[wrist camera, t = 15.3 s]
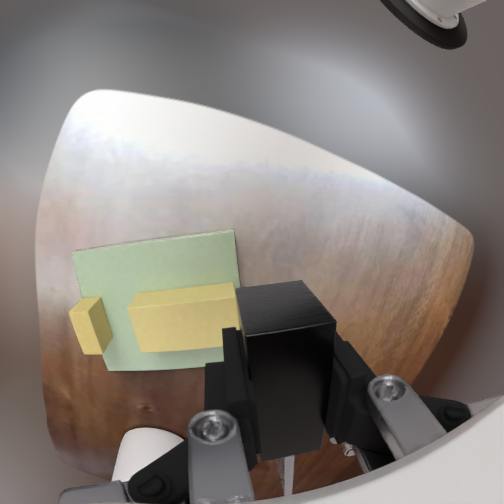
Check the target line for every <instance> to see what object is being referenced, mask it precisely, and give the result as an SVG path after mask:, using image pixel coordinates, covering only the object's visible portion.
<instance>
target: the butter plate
mask: <svg viewBox="0 0 504 504" xmlns="http://www.w3.org/2000/svg"><path fill="white" fill-rule="evenodd" d="M72 259H73V263H74V267H75V271H76V276H77V279H78V283H79V287H80V291H81V294H82V298H91V297H101V299H102V303H103V306H104V310H105V313H106V316H107V319H108V322H109V326H110V329H111V332H112V335H113V338H112V340H111V341H110V343H109V345H108V346H107V348H106V350H105V352H104V353H103V354H102V356H103V358H104V361H105V363H106V366H107V368H108V370H109V371H140V370H165V369H181V368H194V367H205V364H206V363H210V362H221V361H224V355H223V346H221V347H213V348H203V349H193V350H181V351H168V352H152V353H141V351H140V348H139V345H138V342H137V339H136V336H135V333H134V330H133V326H132V323H131V319H130V316H129V312H128V309H127V308H128V306H129V305H130V303H131V302H132V300H133V299H134V297H135V296H136V294H137V293H141V292H151V291H160V290H170V289H179V288H188V287H197V286H205V285H213V284H222V283H230V282H233V284H234V289H236V288H240V281H239V273H238V264H237V255H236V246H235V236H234V230H233V229H230V230H222V231H214V232H206V233H197V234H190V235H182V236H174V237H167V238H159V239H152V240H145V241H137V242H130V243H123V244H117V245H110V246H103V247H97V248H90V249H84V250H77V251H75V252H73V253H72ZM235 294H236V293H235Z"/></svg>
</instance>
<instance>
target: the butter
mask: <svg viewBox="0 0 504 504" xmlns="http://www.w3.org/2000/svg"><path fill="white" fill-rule="evenodd" d="M127 309H128V312H129V316H130V319H131V323H132V326H133V330H134V333H135V336H136V339H137V342H138V345H139V348H140V351H141V353H152V352H168V351H181V350H193V349H203V348H213V347H221V346H223V339H222V328H229V327H236V330H240V328H239V320H238V311H237V302H236V294H235V289H234V284H233V282H230V283H222V284H213V285H205V286H197V287H188V288H179V289H170V290H160V291H151V292H141V293H137V294H136V296H135V297H134V299H133V300H132V302H131V303H130V305H129V306H128V308H127Z"/></svg>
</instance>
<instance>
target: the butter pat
mask: <svg viewBox="0 0 504 504" xmlns="http://www.w3.org/2000/svg"><path fill="white" fill-rule="evenodd" d="M69 315H70V318H71V321H72V324H73V327H74V330H75V332H76V335H77V338H78V340H79V343H80V345H81V348H82V350H83V353H84V354H103V353H104V352H105V350H106V348H107V346H108V345H109V343H110V341H111V340H112V338H113V335H112V332H111V329H110V326H109V322H108V319H107V316H106V313H105V310H104V306H103V303H102V299H101V297H91V298H83V299H81V300H80V301H79V302H78V303H77V304H76V305H75V306H74V307H73V308H72V309H71V310H70V311H69Z"/></svg>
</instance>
